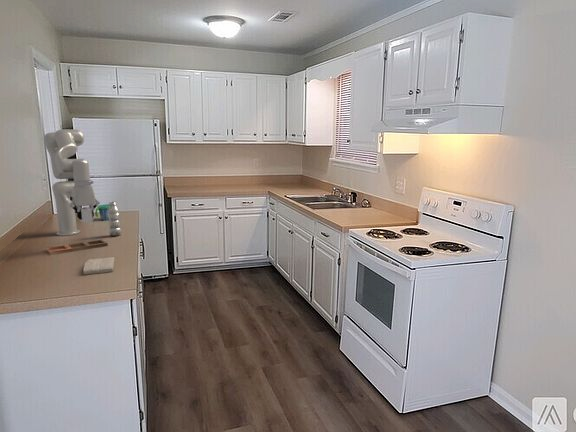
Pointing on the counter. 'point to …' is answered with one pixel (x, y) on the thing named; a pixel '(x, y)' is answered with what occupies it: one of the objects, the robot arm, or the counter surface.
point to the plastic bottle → (113, 219)
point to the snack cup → (103, 211)
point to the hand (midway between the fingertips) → (85, 218)
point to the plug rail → (76, 247)
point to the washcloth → (99, 265)
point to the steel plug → (86, 214)
